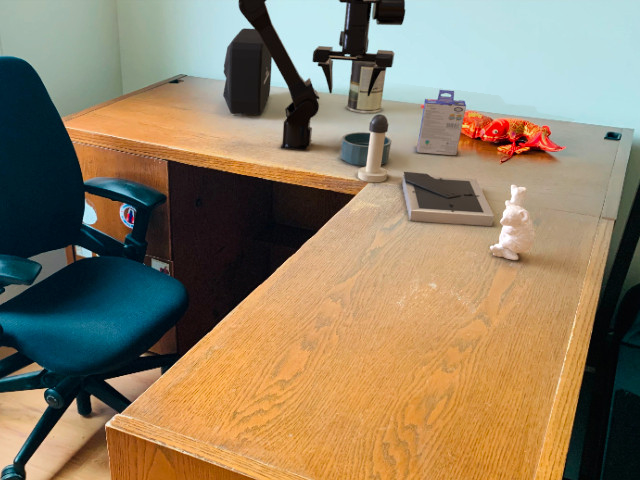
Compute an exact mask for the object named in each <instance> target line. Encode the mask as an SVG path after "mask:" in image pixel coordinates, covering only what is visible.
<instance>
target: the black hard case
mask: <svg viewBox="0 0 640 480" xmlns="http://www.w3.org/2000/svg"><path fill="white" fill-rule="evenodd" d="M272 60H273V58H272V56H271V55H270V53H269V51H268V49H267V47H266V46H265V44H264V42H263V40H262V38H261V36H260V35H259V33H258V32H257V31H256V30H255V29H254V28H242V29H241V30H239V32H238V33H237V34H236V35H235V36H234V37H233V39H232V41H231V42H230V43H229V45H227V46H226V52H225V58H224V63H223V74H224V77H225V83H224V89H223V93H222V95H223V99H224V100H225V103H226V106H227V108H228V110H229V113H230V114H232V115H246V116H247V115H249V116H261V115H262V114H263V112H264V110H265V108H266V106H267V103H268V100H269V97H270V94H271V84H272V83H271V82H272V81H271V80H272V65H273V64H272V63H273V61H272Z"/></svg>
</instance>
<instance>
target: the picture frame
mask: <svg viewBox="0 0 640 480" xmlns="http://www.w3.org/2000/svg"><path fill="white" fill-rule="evenodd" d="M401 181H402V182H401V186H402V190H403V195H404V200H405V204H406V209H407V214H408V219H409V221H410V222H423V223H424V222H425V223H438V224H439V223H440V224H451V225H452V224H453V225H454V224H455V225H469V226H483V227H492V226H493V223H494V219H495V215H494V213H493V211H492V209H491V207H490V204H489V203H488V201H487V198H486V196H485V194H484V193H483V191H482V188H481V186H480V184H479V182H478V180H477V179H476V178H464V177H463V178H461V177H448V176H447V177H446V176H431V175H430V174H429V173H423V172H413V171H403V176H402V180H401Z"/></svg>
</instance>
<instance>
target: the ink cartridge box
mask: <svg viewBox="0 0 640 480" xmlns="http://www.w3.org/2000/svg"><path fill="white" fill-rule="evenodd" d="M443 94H448V95H450V96H443ZM454 97H455V90H446V89H439V90H438V95H437V99H432V98H425V99H424V104H423V109H422V114H421V121H420V127H419V134H418V141H417V146H416V152H417V153H421V154H434V155H448V156H457V153H458V148H459V144H460V139H461V134H462V130H463V129H462V128H463V123H464V119H465V114H466V110H467V104H466V101H465V100H457V99H456V100H455V98H454Z"/></svg>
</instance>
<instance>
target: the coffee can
mask: <svg viewBox="0 0 640 480" xmlns="http://www.w3.org/2000/svg"><path fill="white" fill-rule="evenodd" d="M360 58H362V57H360ZM374 66H375V62H364V61H351V70H350V78H349V79H350V80H349V88H348V97H347V106H346V109H347V110H349V111H351V112H354V113H359V114H376V113H379V112H381V110H382V102H383V94H384V87H385V79H386V72H387V70H386V71H381V72H380V74H379V76H378V77H377V79H376V81H375V83H374V86H373V88H372V90H371V93H370V95H369V96H368V88H369V84H370V80H371V76H372V71H373V68H374Z"/></svg>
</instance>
